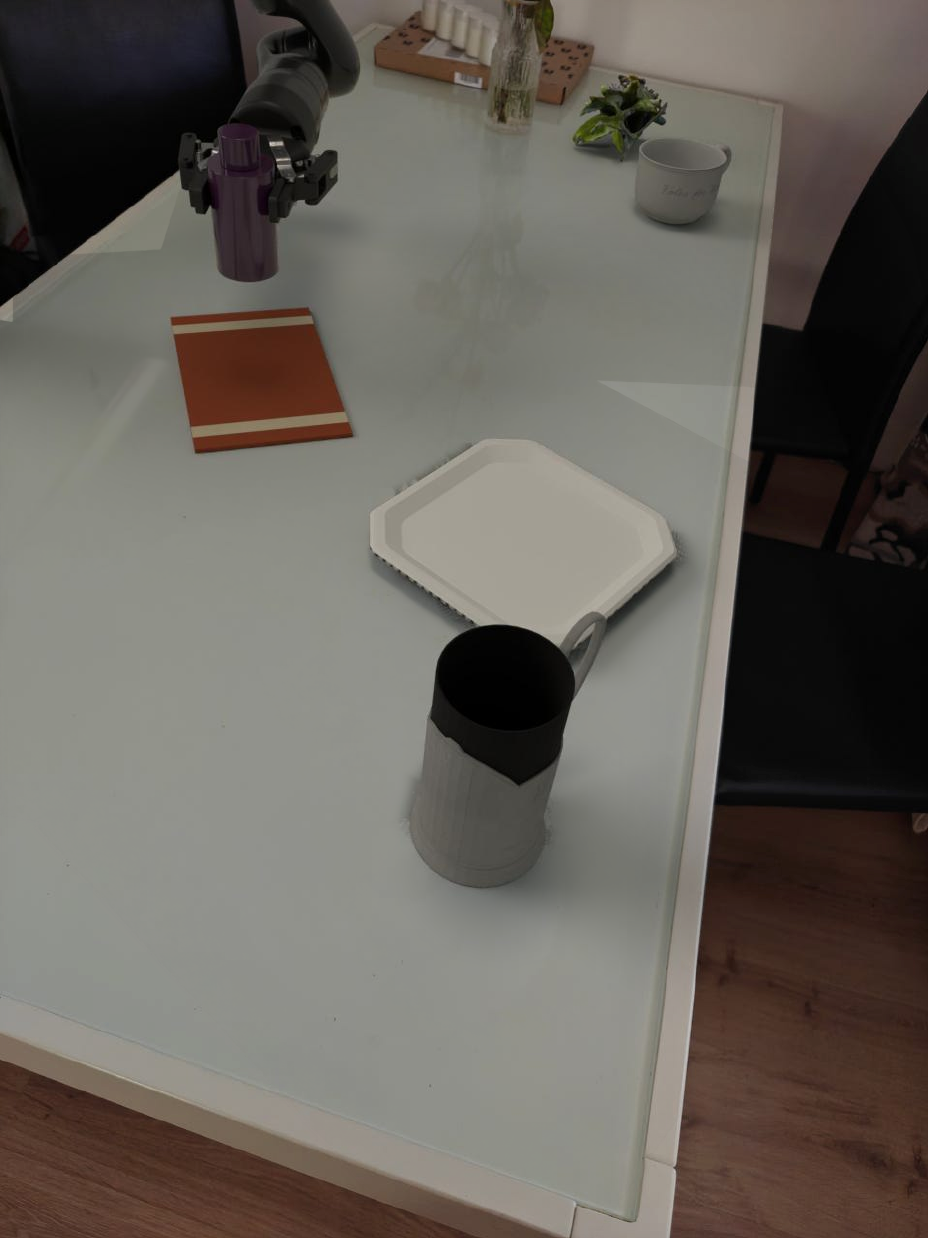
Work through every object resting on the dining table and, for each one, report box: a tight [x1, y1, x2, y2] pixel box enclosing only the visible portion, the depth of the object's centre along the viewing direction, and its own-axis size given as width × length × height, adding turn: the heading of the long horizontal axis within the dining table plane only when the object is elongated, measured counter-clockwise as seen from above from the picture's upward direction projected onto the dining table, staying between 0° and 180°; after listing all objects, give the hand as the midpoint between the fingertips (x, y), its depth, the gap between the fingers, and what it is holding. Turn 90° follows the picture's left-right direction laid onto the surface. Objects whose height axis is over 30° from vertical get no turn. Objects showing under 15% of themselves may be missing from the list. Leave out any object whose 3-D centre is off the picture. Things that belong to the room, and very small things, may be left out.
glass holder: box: [409, 611, 608, 888], centre depth 60 cm, size 9×14×15 cm, turn 138°
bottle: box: [206, 123, 281, 283], centre depth 83 cm, size 5×5×12 cm
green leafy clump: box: [572, 74, 668, 162], centre depth 138 cm, size 11×11×12 cm
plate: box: [369, 438, 678, 651], centre depth 81 cm, size 21×21×2 cm
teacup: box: [634, 136, 733, 225], centre depth 125 cm, size 14×11×8 cm
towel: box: [170, 306, 354, 454], centre depth 95 cm, size 22×14×1 cm, turn 17°
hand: (236, 206), depth 80 cm, fingers closed on bottle, 5 cm apart
